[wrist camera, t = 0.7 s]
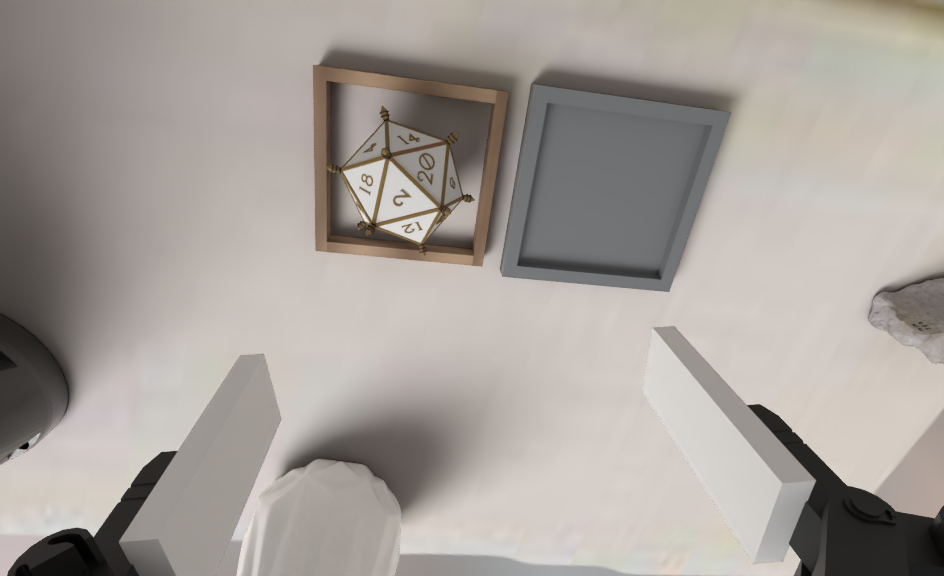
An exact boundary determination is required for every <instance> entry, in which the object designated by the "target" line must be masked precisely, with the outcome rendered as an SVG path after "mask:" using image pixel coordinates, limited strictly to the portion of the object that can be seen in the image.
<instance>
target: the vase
mask: <svg viewBox="0 0 944 576" xmlns="http://www.w3.org/2000/svg"><path fill="white" fill-rule="evenodd" d="M401 514H402V512H401V508H400V506H399V503H398V501H397V499H396V497H395V496H394V494H393V493H392V492H391V491H390V490H389V489H388V488H387V485H386V483H385V482H384V481H383V480H382V479H380V478H378V477H376V476H374V475H373V473H372V472H371V471H370V470H369V468H368V467H367V466H365V465H362V464H357V463H350V462H343V461H335V460H325V459H316V460H314V461H312V462H311V463H309V464H308V465H307V466H305V467H302V468H296V469H293V470H291V471H289V472H288V473H287V474H286V475H285V476H283V477H281V478H279V479H277V480H276V481H275V482H273V483H272V484H271V485H270V486H269V487H268V488H267V489H265V491H264V492H263V493H262V494H261V495H260V497H259V500H258V503H257V505H256V508H255V510H254V513H253V516H252V519H251V521H250V524H249V526H248V529H247V531H246V534H245V536H244V539H243V543H242V547H241V553H240V558H239V564H238V570H237V576H394V574H395V570H396V567H397V564H398V560H399V555H400V532H401Z"/></svg>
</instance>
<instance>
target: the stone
mask: <svg viewBox="0 0 944 576" xmlns="http://www.w3.org/2000/svg"><path fill="white" fill-rule="evenodd" d="M872 304H873V308H872V310H871V313H870V314H869V318H868V320H869V322H870V324H872V325H873V326H874V327H875V328H877V329H880V330H885V331H888V333H889V334H890V335H891V336H893V337H894V338H895V339H896V340H897V341H899V342H900V343H901V344H902V345H907V346H913V347H916V348H917V349H919V350H920V351H922V352H923V353H924V354H925V356H926V357H927V358H928V359H929V360H930V361H931V363H934V364H937V363H943V364H944V278H939V279H933V280H927V281H925V282H923V283H921V284H915V285H909V286H907V287H905V288H903V289H902V290H900V291H897V292H893V293H890V292H881V293H879V294H878V295H877V296H875V297H874V299H873V301H872Z"/></svg>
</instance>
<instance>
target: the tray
mask: <svg viewBox="0 0 944 576" xmlns="http://www.w3.org/2000/svg"><path fill="white" fill-rule="evenodd" d="M730 114H731V112H725V111H719V110H712V109H705V108H698V107H691V106H684V105H677V104H670V103H663V102H656V101H649V100H642V99H635V98H628V97H621V96H614V95H607V94H600V93H593V92H586V91H579V90H572V89H565V88H558V87H551V86H544V85H537V84H531V90H530V96H529V101H528V107H527V113H526V119H525V125H524V131H523V137H522V143H521V149H520V154H519V160H518V166H517V172H516V178H515V184H514V190H513V196H512V201H511V207H510V213H509V219H508V225H507V231H506V237H505V243H504V249H503V254H502V260H501V266H500V271H501V274H502V277H512V278H523V279H534V280H545V281H556V282H567V283H578V284H589V285H600V286H611V287H621V288H632V289H643V290H654V291H665V292H669V291H670V288H671V285H672V282H673V279H674V276H675V273H676V270H677V268H678V265H679V262H680V259H681V256H682V253H683V250H684V247H685V244H686V242H687V239H688V236H689V233H690V230H691V227H692V224H693V221H694V218H695V216H696V213H697V210H698V207H699V204H700V201H701V198H702V195H703V192H704V190H705V187H706V184H707V181H708V178H709V175H710V172H711V169H712V166H713V164H714V161H715V158H716V155H717V152H718V149H719V146H720V143H721V140H722V138H723V135H724V132H725V129H726V126H727V123H728V120H729V117H730Z"/></svg>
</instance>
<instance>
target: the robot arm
mask: <svg viewBox="0 0 944 576" xmlns="http://www.w3.org/2000/svg"><path fill="white" fill-rule="evenodd" d="M642 392H643V393H644V395H645V397H646V398H647V400H648V401H649V403H650V404H651V406H652V408H653V409H654V411H655V412H656V414H657V415H658V417H659V419H660V420H661V422H662V423H663V425H664V426H665V428H666V429H667V431H668V433H669V434H670V436H671V437H672V439H673V440H674V442H675V444H676V445H677V447H678V448H679V450H680V451H681V453H682V455H683V456H684V458H685V459H686V461H687V462H688V464H689V465H690V467H691V469H692V470H693V472H694V473H695V475H696V476H697V478H698V480H699V481H700V483H701V484H702V486H703V487H704V489H705V491H706V492H707V494H708V495H709V497H710V498H711V500H712V501H713V503H714V505H715V506H716V508H717V509H718V511H719V512H720V514H721V516H722V517H723V519H724V520H725V522H726V523H727V525H728V527H729V528H730V530H731V531H732V533H733V534H734V536H735V537H736V539H737V541H738V542H739V544H740V545H741V547H742V548H743V550H744V552H745V553H746V555H747V556H748V558H749V559H750V561H751V563H752V564H763V563H773V562H783V560H784V558H785V555H786V553H787V550H788V548H789V545H790V546H791V547H792V548H793V550H794V551H795V552H796V554H797V555H798V556H799V558H800V559H801V561H800V563H799V565H798V568H797V570H796V572H795V575H794V576H944V506H943V507H942V508H941V510H940V511H939V513H938V515H937V516H936V518H929V517H923V516H918V515H913V514H907V513H901V512H896V511H895V510H894V509H893V508H892V507H891V506H890V505H889V504H888V503H886V502H885V501H883V500H882V499H881V498H879V497H878V496H876V495H874V494H871V493H869V492H867V491H865V490H862V489H859V488H855V487H851V486H847V485H846V484H845V483H844V482H843V481H842V480H841V479H840V478H839V477H838V476H837V475H836V474H835V473H834V472H833V471H832V470H831V469H830V468H829V467H828V466H827V465H826V464H825V463H824V462H823V461H822V460H821V459H820V458H819V457H818V456H817V455H816V454H815V453H814V452H813V451H812V450H811V449H810V448H809V447H808V446H807V444H804V443H803V440H802V439H801V438H800V437H799V436H798V435H797V434H796V433H795V432H794V433H793V432H792V429H791V428H790V427H789V426H788V425H787V424H786V423H785V422H784V421H783V420H782V419H781V418H780V417H779V416H778V415H776V414H775V413H773V412H771V411H770V410H768V409H767V408H765V407H763V406H762V405H760V404H757V405H746V404H745V403H744V402H743V400H742V399H741V398H740V397H739V396H738V395H737V394H736V393H735V392H734V391H733V390H732V389H731V387H730V386H729V385H728V384H727V383H726V382H725V381H724V380H723V379H722V378H721V377H720V375H719V374H718V373H717V372H716V371H715V370H714V369H713V368H712V367H711V366H710V365H709V363H708V362H707V361H706V360H705V359H704V358H703V357H702V356H701V355H700V354H699V353H698V351H697V350H696V349H695V348H694V347H693V346H692V345H691V344H690V343H689V342H688V341H687V339H686V338H685V337H684V336H683V335H682V334H681V333H680V332H679V331H678V330H677V329H676V327H675V326H669V327H654V328H653V329H652V335H651V341H650V347H649V353H648V360H647V366H646V372H645V378H644V384H643V390H642ZM67 403H68V391H67V385H66V382H65V379H64V376H63V374H62V371H61V369H60V368H59V366H58V364H57V363H56V361H55V360H54V358H53V357H52V356H51V354H50V353H49V352H48V351H47V349H46V348H45V347H44V346H43V345H42V344H41V343H40V342H39V341H38V340H37V339H36V338H34V337H33V336H32V335H31V334H30V333H28V332H27V331H26V330H24V329H23V328H22V327H20V326H19V325H17V324H16V323H14V322H12V321H11V320H9V319H7V318H5V317H4V316H2V315H0V465H1V464H3V463H4V462H6V461H7V460H9V459H12V458H15V457H17V456H19V455H21V454H23V453H24V452H26V451H28V450H29V449H31V448H32V447H34V446H35V445H36V444H37V443H39V442H40V441H41V440H42V439H43V438H44V437H45V436H46V435H47V434H48V433H49V432H50V431H51V430H52V429H53V428H54V427H55V426H56V425H57V424H58V423H59V422H60V421H61V419H62V417H63V416H64V413H65V411H66V408H67ZM280 421H281V415H280V412H279V408H278V404H277V400H276V397H275V393H274V389H273V386H272V382H271V378H270V374H269V371H268V367H267V363H266V360H265V356H264V354H254V355H240V356H239V358H238V359H237V361H236V362H235V364H234V366H233V367H232V369H231V370H230V372H229V373H228V375H227V376H226V378H225V379H224V381H223V382H222V384H221V386H220V387H219V389H218V390H217V392H216V393H215V395H214V396H213V398H212V399H211V401H210V402H209V404H208V406H207V407H206V409H205V410H204V412H203V413H202V415H201V416H200V418H199V419H198V421H197V422H196V424H195V425H194V427H193V429H192V430H191V432H190V433H189V435H188V436H187V438H186V439H185V441H184V442H183V444H182V445H181V447H180V449H179V450H178V451H170V452H161V453H160V454H159V455H158V456H156V457H155V458H154V459H153V460H152V461H150V462H149V463H148V464H147V465H146V466H144V467H143V468H142V470H141V471H140V473H139V474H138V476H137V477H136V478H135V480H134V481H133V483H132V484H131V488H128V490H127V491H126V492H125V494H124V495H123V497H122V498H121V502H120V503H118V504H117V505H116V507H115V508H114V509H113V511H112V512H111V514H110V515H109V516H108V518H107V519H106V521H105V522H104V523H103V525H102V526H101V528H100V529H99V530H98V532H97V533H96V535H95V536H94V537H92V535H91V534H90V533H89V532H88V530H86V529H81V528H72V529H66V530H62V531H59V532H57V533H54V534H52V535H50V536H47V537H45V538H44V539H42V540H41V541H39V542H37V543H36V544H34V545H33V546H31V547H30V548H29V549H28V550H27V551H26V552H25V553H23V554H22V555H21V556H20V557H19V558H18V559H17V560H16V562H15V563H14V564H13V566H12V567H11V569H10V570H9V571H8V575H7V576H216V574H217V571H218V569H219V566H220V564H221V562H222V559H223V557H224V555H225V552H226V549H227V547H228V545H229V543H230V540H231V538H232V535H233V533H234V531H235V528H236V526H237V524H238V521H239V519H240V516H241V514H242V512H243V509H244V507H245V504H246V502H247V500H248V497H249V495H250V493H251V490H252V488H253V485H254V483H255V481H256V478H257V476H258V473H259V471H260V469H261V466H262V464H263V462H264V459H265V457H266V454H267V452H268V450H269V447H270V445H271V442H272V440H273V438H274V435H275V433H276V431H277V428H278V426H279V423H280Z"/></svg>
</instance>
